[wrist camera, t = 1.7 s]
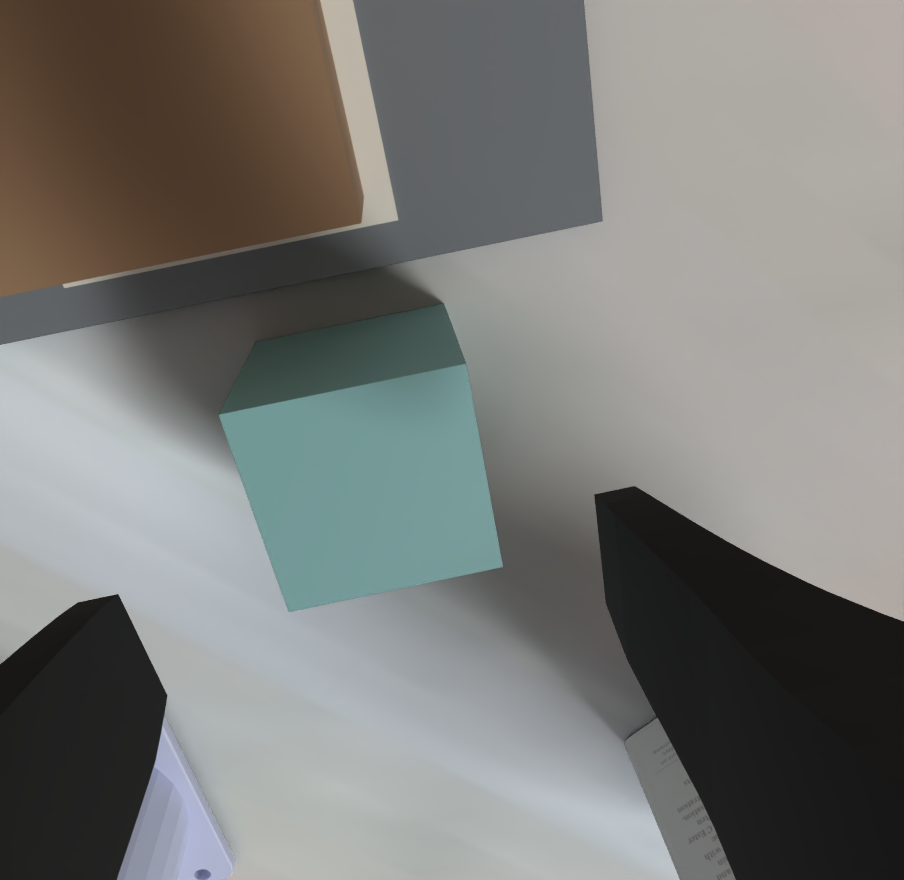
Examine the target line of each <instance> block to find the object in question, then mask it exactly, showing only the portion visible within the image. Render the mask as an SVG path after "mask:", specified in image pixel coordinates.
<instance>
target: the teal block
mask: <svg viewBox="0 0 904 880" xmlns="http://www.w3.org/2000/svg"><path fill="white" fill-rule="evenodd" d="M219 418H220V421H221V423H222V426H223V429H224V432H225V435H226V437H227V440H228V443H229V446H230V449H231V452H232V454H233V457H234V460H235V463H236V466H237V468H238V471H239V474H240V477H241V480H242V482H243V485H244V488H245V491H246V494H247V497H248V499H249V502H250V505H251V508H252V511H253V513H254V516H255V519H256V522H257V525H258V528H259V530H260V533H261V536H262V539H263V542H264V544H265V547H266V550H267V553H268V556H269V558H270V561H271V564H272V567H273V570H274V573H275V575H276V578H277V581H278V584H279V587H280V589H281V592H282V595H283V598H284V601H285V603H286V606H287V609H288V612H292V611H297V610H302V609H306V608H311V607H316V606H321V605H325V604H330V603H335V602H340V601H344V600H349V599H354V598H359V597H363V596H368V595H373V594H378V593H382V592H387V591H392V590H397V589H401V588H406V587H411V586H416V585H420V584H425V583H430V582H434V581H439V580H444V579H449V578H453V577H458V576H463V575H468V574H472V573H477V572H482V571H487V570H491V569H496V568H501V567H503V564H502V559H501V553H500V548H499V542H498V537H497V531H496V526H495V520H494V515H493V509H492V504H491V498H490V493H489V487H488V482H487V476H486V471H485V465H484V460H483V454H482V449H481V443H480V438H479V432H478V427H477V421H476V416H475V410H474V405H473V399H472V394H471V388H470V383H469V377H468V372H467V366H466V362H465V359H464V357H463V354H462V351H461V349H460V346H459V343H458V340H457V338H456V335H455V332H454V330H453V327H452V324H451V321H450V319H449V316H448V313H447V311H446V308H445V305H444V304H439V305H434V306H429V307H424V308H419V309H414V310H410V311H405V312H400V313H395V314H390V315H385V316H380V317H375V318H371V319H366V320H361V321H356V322H351V323H346V324H341V325H336V326H332V327H327V328H322V329H317V330H312V331H307V332H302V333H297V334H293V335H288V336H283V337H278V338H273V339H268V340H263V341H258V342H256V343H255V345H254V347H253V349H252V351H251V353H250V355H249V356H248V358H247V360H246V362H245V364H244V366H243V368H242V370H241V372H240V374H239V376H238V378H237V380H236V382H235V384H234V386H233V388H232V389H231V391H230V393H229V395H228V397H227V399H226V401H225V403H224V405H223V407H222V409H221V411H220V413H219Z"/></svg>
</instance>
